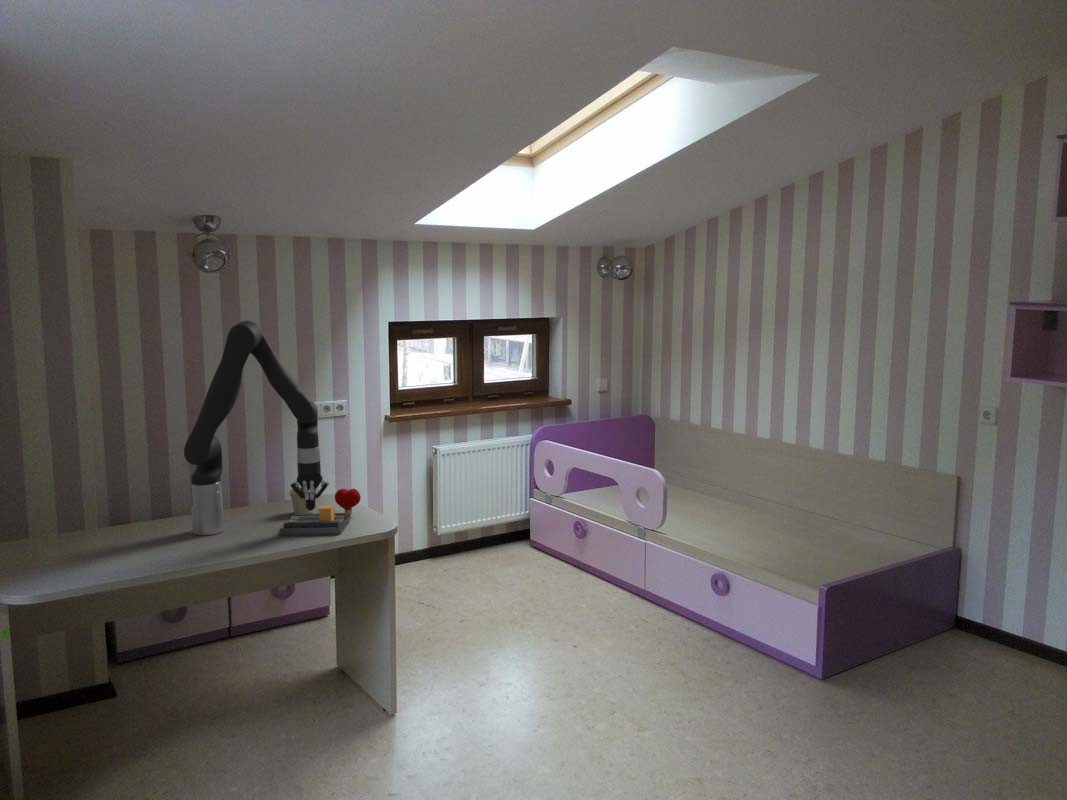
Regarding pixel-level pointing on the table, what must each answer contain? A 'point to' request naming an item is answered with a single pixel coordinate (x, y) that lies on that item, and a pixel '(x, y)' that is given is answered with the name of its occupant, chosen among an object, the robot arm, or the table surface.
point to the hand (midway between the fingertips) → (311, 509)
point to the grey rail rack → (312, 524)
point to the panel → (314, 530)
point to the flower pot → (298, 503)
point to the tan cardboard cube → (326, 512)
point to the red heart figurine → (347, 499)
